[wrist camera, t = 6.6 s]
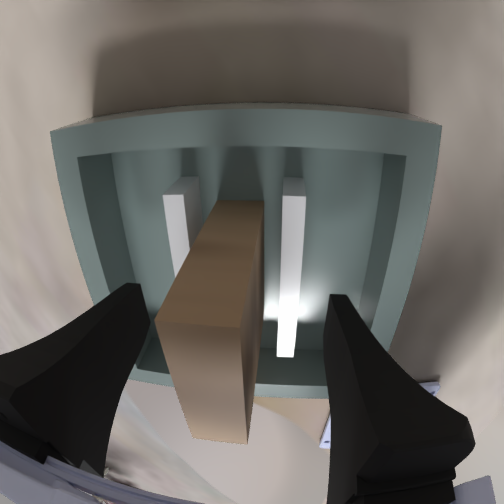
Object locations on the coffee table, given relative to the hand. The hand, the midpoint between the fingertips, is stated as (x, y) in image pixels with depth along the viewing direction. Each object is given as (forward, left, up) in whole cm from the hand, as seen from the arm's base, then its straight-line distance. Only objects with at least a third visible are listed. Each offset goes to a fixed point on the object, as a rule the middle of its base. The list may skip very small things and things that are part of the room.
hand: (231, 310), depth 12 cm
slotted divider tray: (0, 0, -4) cm, 4 cm away
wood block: (0, 0, -3) cm, 4 cm away
